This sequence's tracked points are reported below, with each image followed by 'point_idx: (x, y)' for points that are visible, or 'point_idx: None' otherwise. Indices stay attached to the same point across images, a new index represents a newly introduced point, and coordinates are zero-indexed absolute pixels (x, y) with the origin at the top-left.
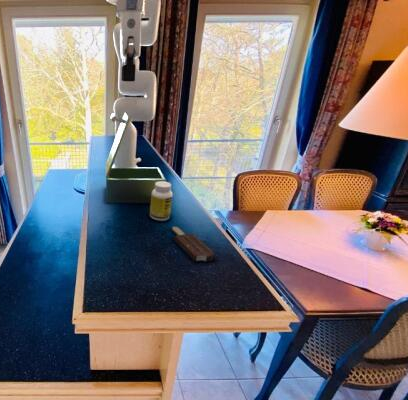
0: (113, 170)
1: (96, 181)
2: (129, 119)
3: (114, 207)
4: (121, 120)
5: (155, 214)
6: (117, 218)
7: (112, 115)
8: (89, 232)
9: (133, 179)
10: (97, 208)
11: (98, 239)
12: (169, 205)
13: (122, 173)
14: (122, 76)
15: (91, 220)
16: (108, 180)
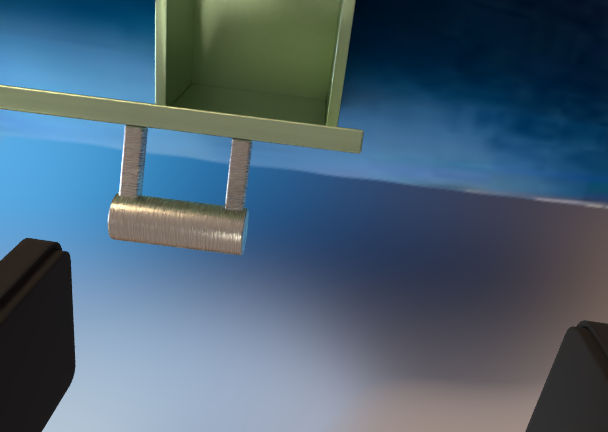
0: (169, 78)
1: (91, 123)
2: (361, 136)
3: (378, 80)
4: (246, 169)
5: None
6: (471, 84)
7: (187, 245)
8: (541, 190)
9: (353, 6)
10: (376, 148)
11: (590, 167)
12: None
13: (175, 25)
14: (49, 412)
15: (464, 178)
16: None
